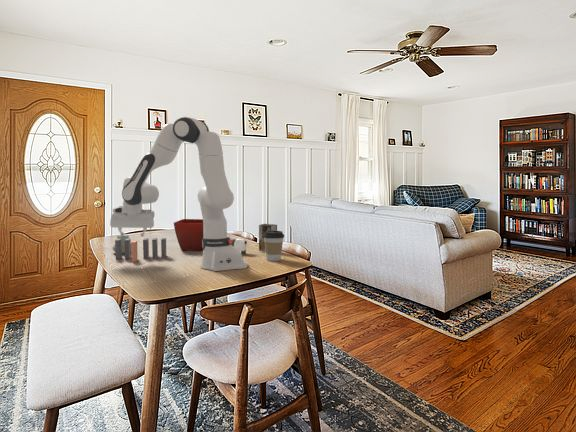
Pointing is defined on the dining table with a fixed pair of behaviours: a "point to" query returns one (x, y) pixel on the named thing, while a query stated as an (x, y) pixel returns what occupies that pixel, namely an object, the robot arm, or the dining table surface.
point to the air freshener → (122, 242)
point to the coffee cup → (273, 244)
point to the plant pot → (189, 233)
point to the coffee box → (262, 231)
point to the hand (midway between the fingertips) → (132, 236)
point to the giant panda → (239, 245)
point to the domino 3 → (134, 251)
